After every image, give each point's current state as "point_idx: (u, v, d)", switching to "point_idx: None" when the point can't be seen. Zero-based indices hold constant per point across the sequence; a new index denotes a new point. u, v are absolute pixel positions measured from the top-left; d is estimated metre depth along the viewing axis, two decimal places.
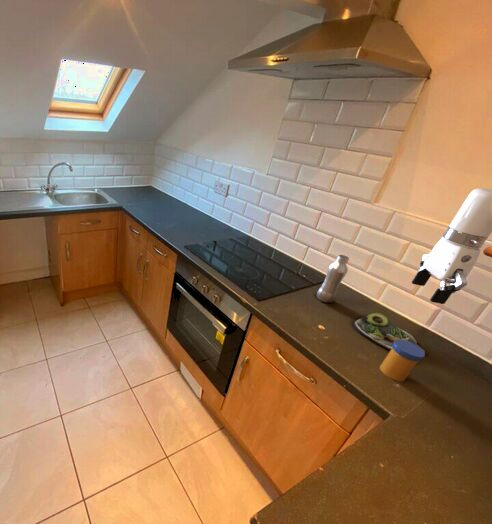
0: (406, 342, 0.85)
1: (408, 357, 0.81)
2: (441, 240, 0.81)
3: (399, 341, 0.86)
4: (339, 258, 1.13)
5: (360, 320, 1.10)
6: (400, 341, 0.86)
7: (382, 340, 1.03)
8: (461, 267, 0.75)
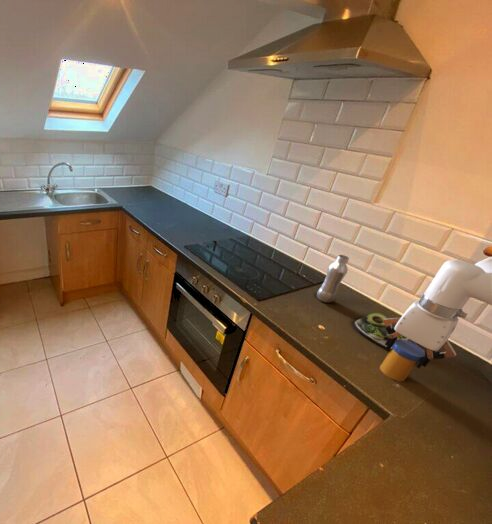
0: (406, 342, 0.85)
1: (408, 357, 0.81)
2: (417, 310, 0.79)
3: (399, 341, 0.86)
4: (339, 258, 1.13)
5: (360, 320, 1.10)
6: (400, 341, 0.86)
7: (382, 340, 1.03)
8: (449, 336, 0.76)
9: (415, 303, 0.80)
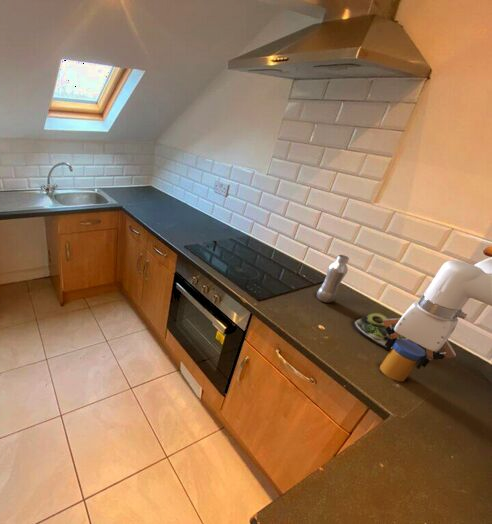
0: (400, 344, 0.84)
1: None
2: (416, 310, 0.79)
3: (404, 349, 0.82)
4: (339, 258, 1.13)
5: (360, 320, 1.10)
6: (403, 348, 0.83)
7: (382, 340, 1.03)
8: None
9: (415, 304, 0.80)
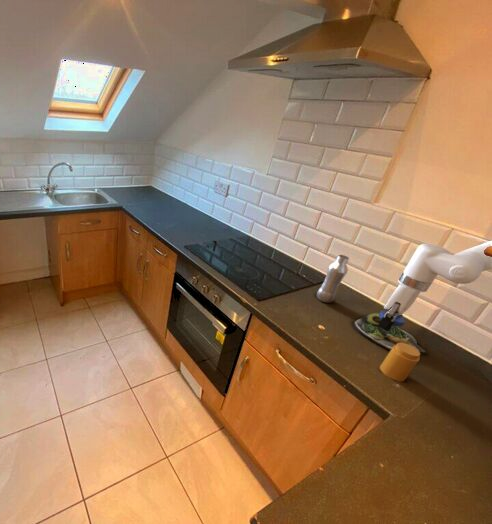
0: (395, 319, 1.00)
1: None
2: (416, 293, 0.94)
3: (401, 320, 1.00)
4: (339, 258, 1.13)
5: (360, 320, 1.10)
6: (400, 320, 1.00)
7: (382, 340, 1.03)
8: None
9: (411, 289, 0.94)
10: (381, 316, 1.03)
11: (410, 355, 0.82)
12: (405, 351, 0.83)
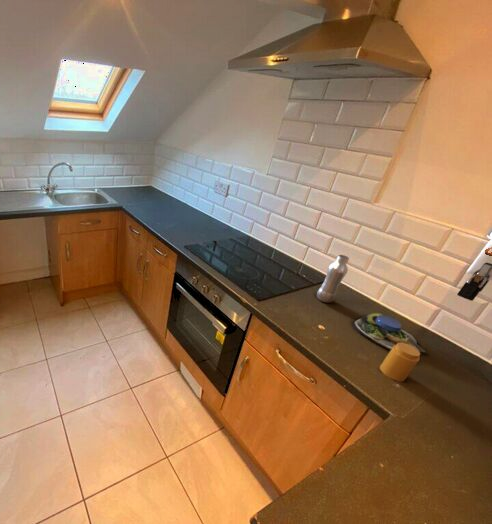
0: (391, 325, 1.01)
1: None
2: None
3: (397, 326, 1.01)
4: (339, 258, 1.13)
5: (360, 320, 1.10)
6: (396, 326, 1.01)
7: (382, 340, 1.03)
8: None
9: None
10: (378, 321, 1.04)
11: (410, 355, 0.82)
12: (405, 351, 0.83)
